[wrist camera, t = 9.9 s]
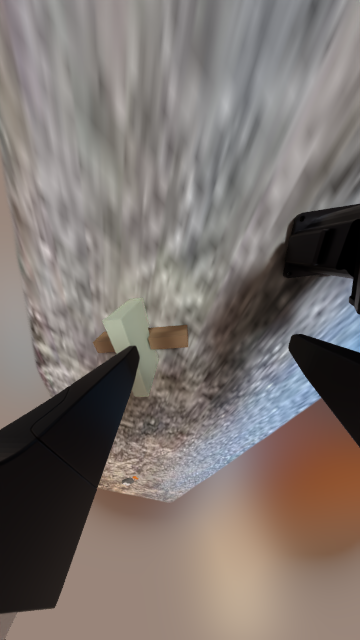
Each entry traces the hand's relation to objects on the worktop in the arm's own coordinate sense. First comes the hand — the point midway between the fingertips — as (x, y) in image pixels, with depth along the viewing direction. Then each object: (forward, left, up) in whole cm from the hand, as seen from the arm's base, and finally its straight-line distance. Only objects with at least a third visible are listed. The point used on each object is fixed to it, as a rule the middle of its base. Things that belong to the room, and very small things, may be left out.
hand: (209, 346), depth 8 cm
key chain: (+31, +74, -13) cm, 81 cm away
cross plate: (+9, +6, -12) cm, 16 cm away
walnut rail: (+9, +6, -12) cm, 16 cm away
